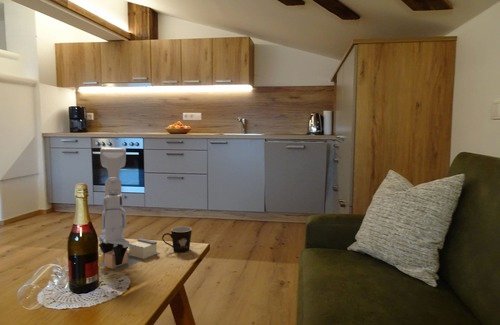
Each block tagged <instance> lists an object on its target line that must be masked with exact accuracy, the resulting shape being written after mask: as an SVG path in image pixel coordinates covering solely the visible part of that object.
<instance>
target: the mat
mask: <svg viewBox="0 0 500 325" xmlns="http://www.w3.org/2000/svg"><path fill="white" fill-rule="evenodd" d="M158 255H161V252H158V251H157V254H155V255H152V256H150V257H147V258H145V259H142V258H138V257H135V256H131V255H129V252H127V263H125V264H123V265H120V266H118V267H115V268H112V269H111V268H108V267H105V261H103V262H100V263H98V264H99V265H98V266H99V267H103V268H108V269H110V270H113V271H117V272H118V271H120V270H122V269H125V268H128V267H130V266H133V265H135V264H137V263H140V262H142V261H145V260H148V259H150V258H154V257H156V256H158Z"/></svg>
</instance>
